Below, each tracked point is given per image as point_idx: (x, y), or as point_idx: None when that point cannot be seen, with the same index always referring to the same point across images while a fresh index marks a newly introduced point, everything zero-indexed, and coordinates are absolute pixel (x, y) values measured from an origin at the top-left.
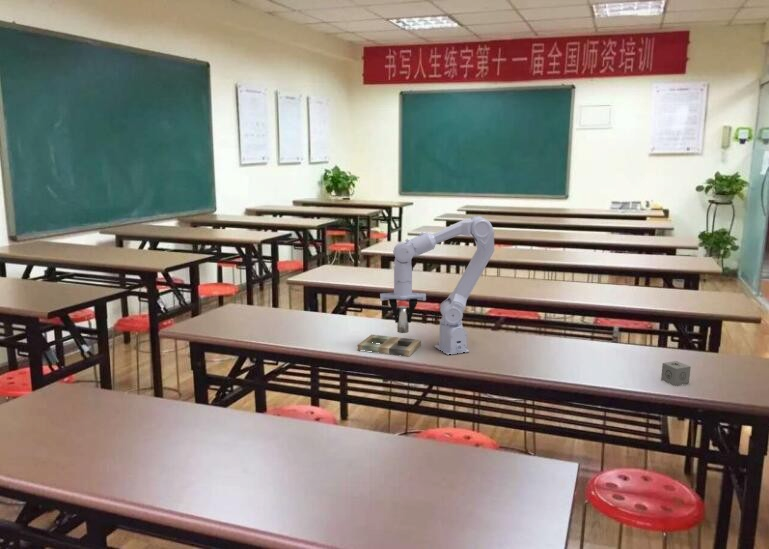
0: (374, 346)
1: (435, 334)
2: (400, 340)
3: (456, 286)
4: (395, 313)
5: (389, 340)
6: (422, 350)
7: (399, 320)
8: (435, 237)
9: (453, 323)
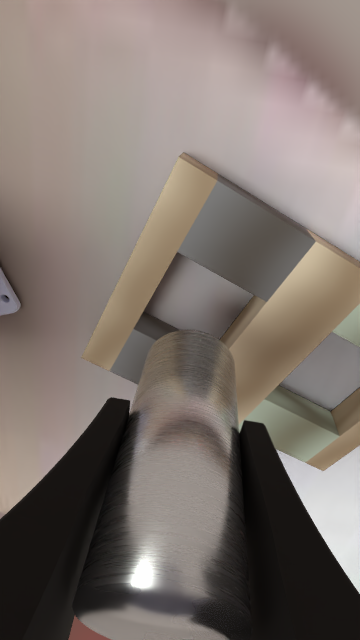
0: None
1: (25, 448)
2: None
3: None
4: (290, 524)
5: (261, 380)
6: (88, 265)
7: (226, 431)
8: None
9: None
